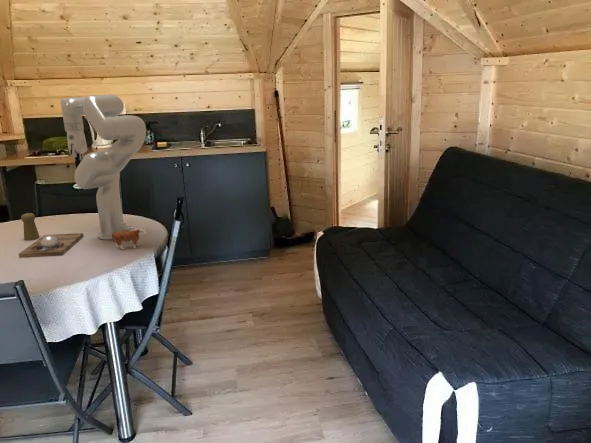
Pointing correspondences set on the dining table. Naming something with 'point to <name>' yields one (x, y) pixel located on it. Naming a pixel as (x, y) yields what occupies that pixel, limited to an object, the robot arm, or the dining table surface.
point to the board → (63, 246)
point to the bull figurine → (128, 237)
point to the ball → (49, 242)
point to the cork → (29, 227)
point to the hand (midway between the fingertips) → (80, 168)
